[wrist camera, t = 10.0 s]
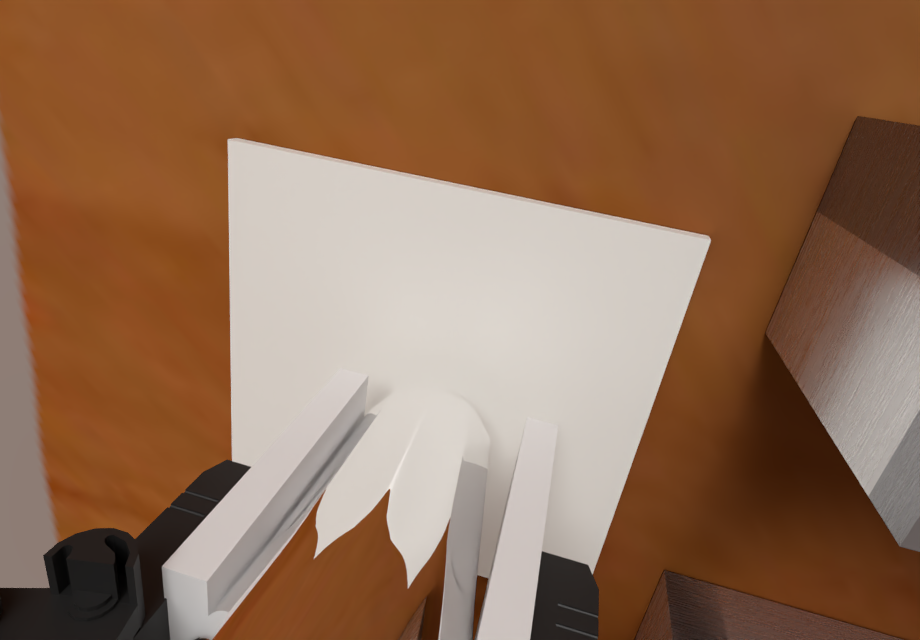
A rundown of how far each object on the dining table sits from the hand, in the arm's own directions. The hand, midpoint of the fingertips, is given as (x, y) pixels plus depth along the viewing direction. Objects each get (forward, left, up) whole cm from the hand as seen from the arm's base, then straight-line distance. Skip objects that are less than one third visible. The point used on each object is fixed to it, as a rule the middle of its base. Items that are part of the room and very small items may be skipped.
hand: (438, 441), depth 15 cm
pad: (+1, 0, -2) cm, 2 cm away
